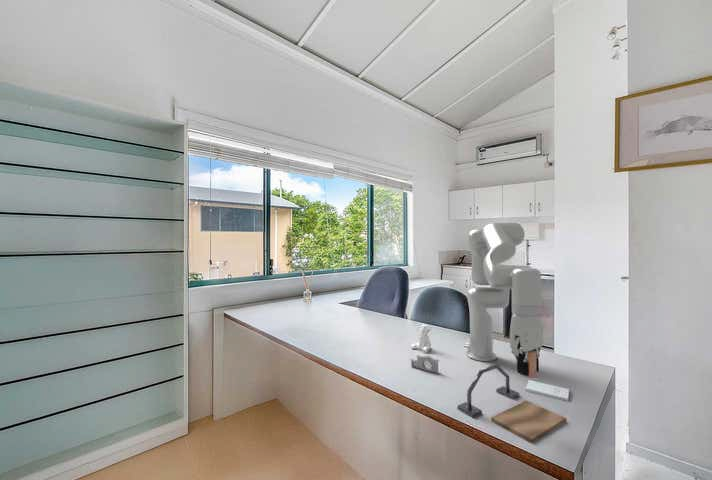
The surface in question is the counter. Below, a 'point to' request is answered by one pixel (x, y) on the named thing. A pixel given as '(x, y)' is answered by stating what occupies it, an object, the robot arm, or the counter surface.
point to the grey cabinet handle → (502, 390)
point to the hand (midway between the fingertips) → (528, 371)
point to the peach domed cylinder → (531, 364)
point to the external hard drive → (547, 390)
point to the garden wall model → (423, 359)
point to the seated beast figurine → (423, 340)
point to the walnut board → (528, 420)
